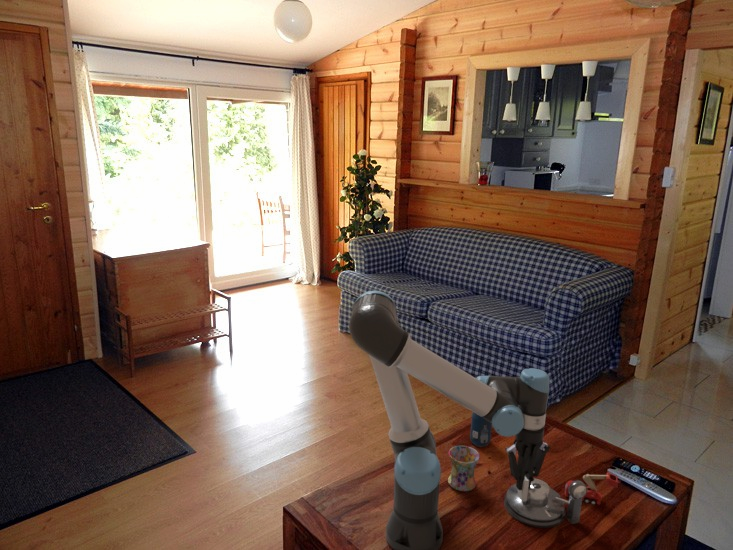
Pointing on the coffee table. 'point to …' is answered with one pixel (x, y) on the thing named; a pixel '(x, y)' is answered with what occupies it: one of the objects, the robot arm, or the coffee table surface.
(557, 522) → the base
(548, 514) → the turntable
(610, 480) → the toy fire truck
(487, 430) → the soda can
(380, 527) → the coffee table surface
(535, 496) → the cover
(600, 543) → the coffee table surface
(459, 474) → the mug
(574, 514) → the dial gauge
